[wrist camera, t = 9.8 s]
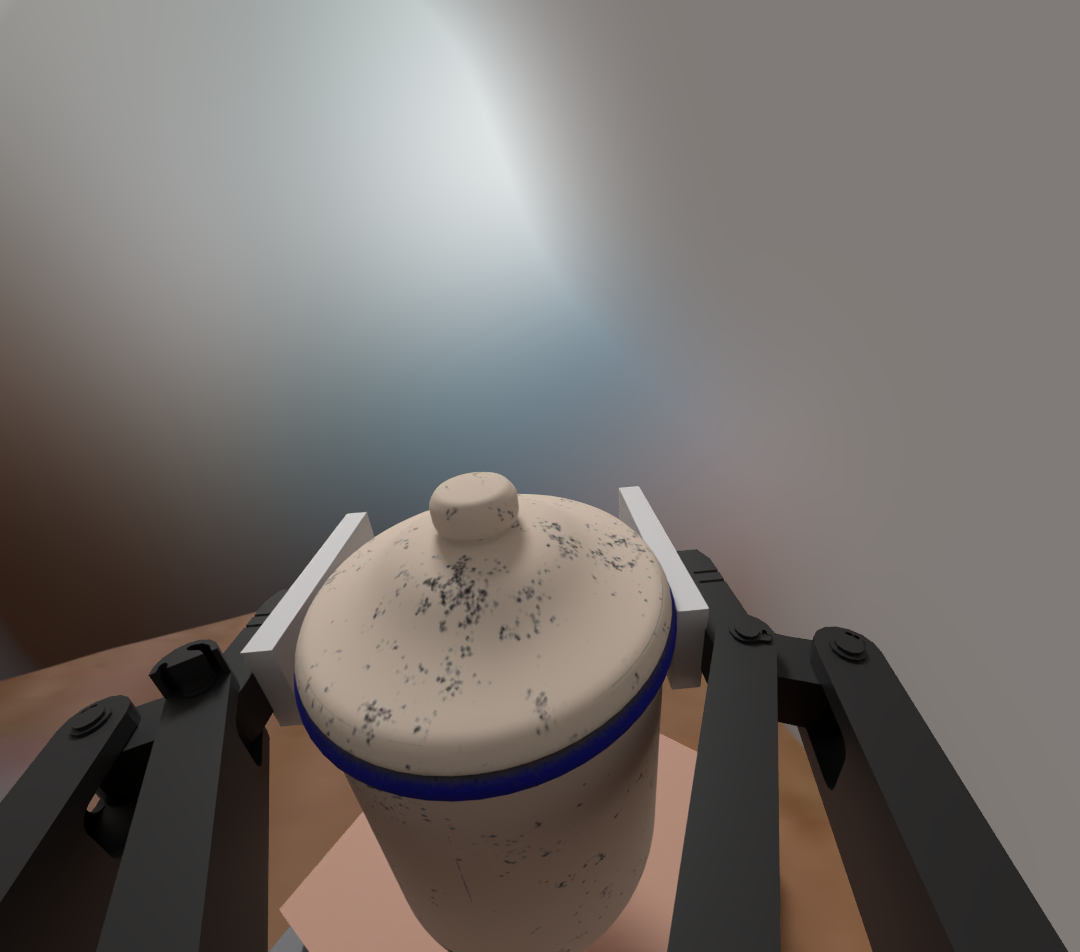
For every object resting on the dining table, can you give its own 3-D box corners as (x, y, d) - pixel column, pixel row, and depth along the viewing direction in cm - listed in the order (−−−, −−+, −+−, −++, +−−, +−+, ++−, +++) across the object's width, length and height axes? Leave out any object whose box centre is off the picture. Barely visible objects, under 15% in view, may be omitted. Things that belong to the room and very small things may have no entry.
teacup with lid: (715, 783, 14) (767, 466, 9) (504, 1141, 8) (329, 838, 3) (496, 611, 22) (459, 397, 17) (318, 734, 17) (188, 473, 12)
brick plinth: (292, 979, 18) (239, 921, 16) (506, 696, 30) (496, 636, 28) (633, 1504, 10) (638, 1560, 8) (743, 829, 22) (760, 762, 19)
